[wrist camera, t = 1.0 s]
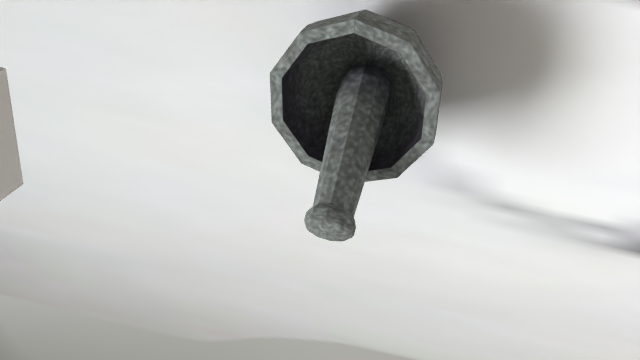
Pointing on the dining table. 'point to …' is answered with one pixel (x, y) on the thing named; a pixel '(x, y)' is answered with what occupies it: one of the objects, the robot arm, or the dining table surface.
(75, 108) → the dining table surface
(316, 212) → the mortar and pestle
